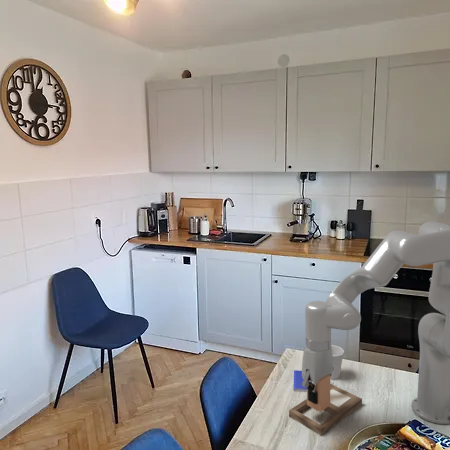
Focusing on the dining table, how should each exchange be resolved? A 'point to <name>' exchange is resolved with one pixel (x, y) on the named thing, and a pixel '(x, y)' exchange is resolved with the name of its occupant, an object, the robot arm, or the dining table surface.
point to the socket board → (328, 410)
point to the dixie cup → (336, 361)
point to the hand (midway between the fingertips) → (318, 397)
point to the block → (321, 394)
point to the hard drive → (298, 382)
